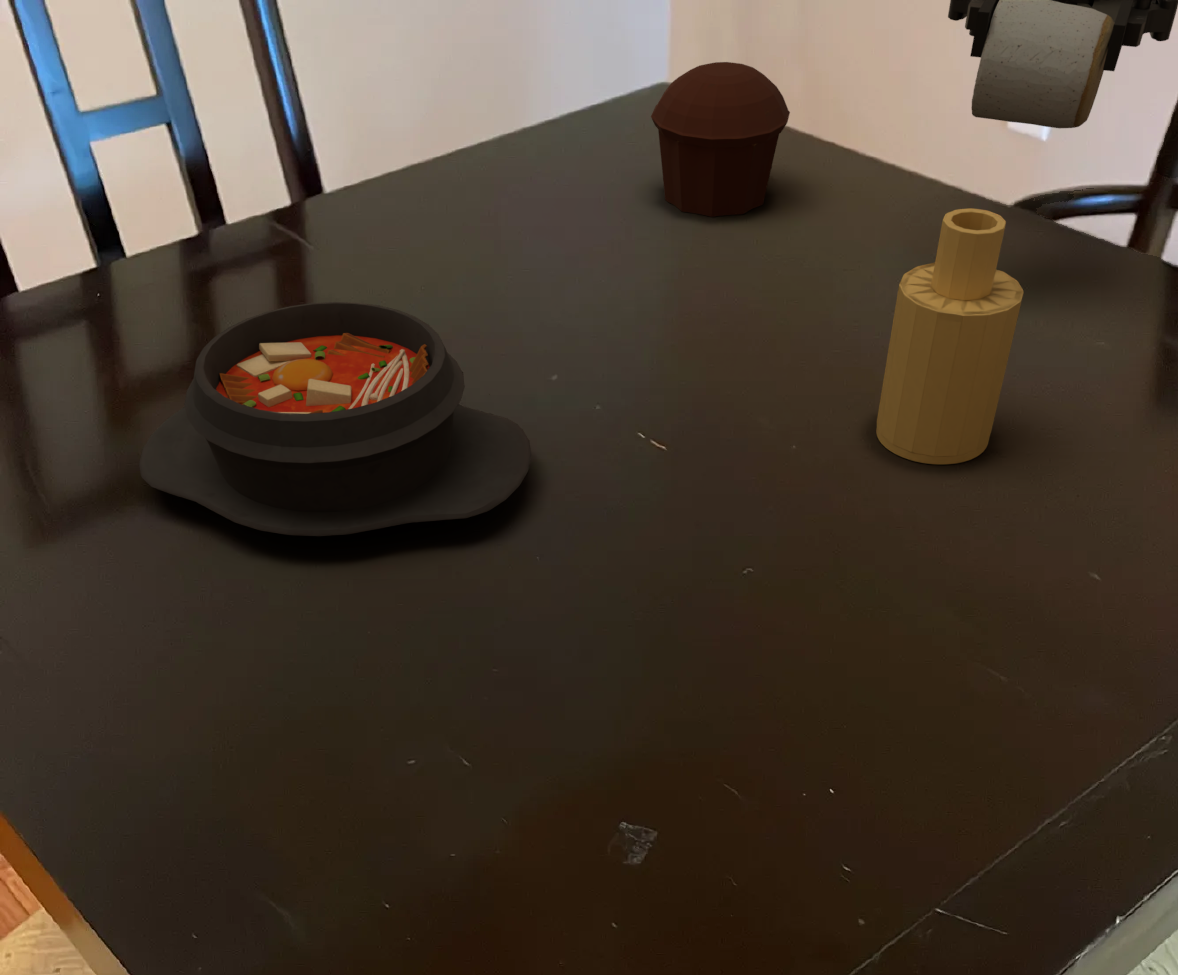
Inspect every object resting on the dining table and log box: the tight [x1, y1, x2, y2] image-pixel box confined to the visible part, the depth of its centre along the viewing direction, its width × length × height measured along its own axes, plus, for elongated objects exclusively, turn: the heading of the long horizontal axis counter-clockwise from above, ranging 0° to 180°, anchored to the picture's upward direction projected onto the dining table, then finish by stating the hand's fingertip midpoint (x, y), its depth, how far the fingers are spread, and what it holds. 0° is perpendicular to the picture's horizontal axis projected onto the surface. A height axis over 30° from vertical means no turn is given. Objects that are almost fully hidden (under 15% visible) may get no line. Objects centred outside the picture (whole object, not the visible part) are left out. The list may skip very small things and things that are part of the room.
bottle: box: [875, 208, 1024, 465], centre depth 84 cm, size 7×7×14 cm
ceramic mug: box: [971, 0, 1114, 129], centre depth 95 cm, size 11×8×8 cm
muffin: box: [650, 61, 791, 218], centre depth 114 cm, size 12×11×10 cm
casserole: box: [138, 301, 532, 537], centre depth 83 cm, size 25×19×8 cm
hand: (1046, 41), depth 90 cm, fingers closed on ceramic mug, 8 cm apart
